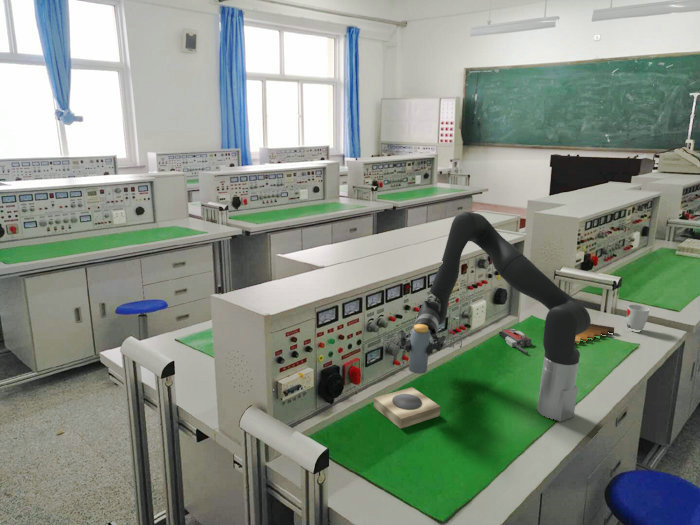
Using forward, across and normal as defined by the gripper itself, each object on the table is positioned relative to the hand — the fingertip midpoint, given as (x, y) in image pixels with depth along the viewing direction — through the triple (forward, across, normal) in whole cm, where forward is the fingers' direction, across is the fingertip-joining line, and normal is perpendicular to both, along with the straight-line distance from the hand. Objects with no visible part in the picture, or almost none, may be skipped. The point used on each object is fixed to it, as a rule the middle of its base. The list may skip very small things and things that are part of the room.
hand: (418, 350), depth 152 cm
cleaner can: (-3, 0, +7) cm, 7 cm away
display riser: (+1, -2, +19) cm, 19 cm away
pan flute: (-78, +56, +20) cm, 98 cm away
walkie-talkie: (-62, +32, +20) cm, 73 cm away
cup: (-94, +80, +20) cm, 125 cm away
